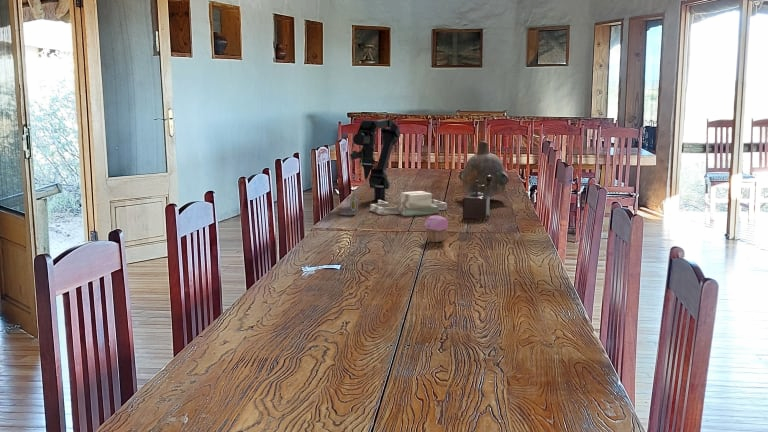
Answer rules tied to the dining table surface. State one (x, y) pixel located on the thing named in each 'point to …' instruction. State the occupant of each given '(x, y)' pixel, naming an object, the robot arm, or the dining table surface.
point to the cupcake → (436, 228)
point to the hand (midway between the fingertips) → (365, 178)
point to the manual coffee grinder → (477, 202)
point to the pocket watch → (352, 204)
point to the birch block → (416, 199)
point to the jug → (484, 172)
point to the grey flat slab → (385, 209)
